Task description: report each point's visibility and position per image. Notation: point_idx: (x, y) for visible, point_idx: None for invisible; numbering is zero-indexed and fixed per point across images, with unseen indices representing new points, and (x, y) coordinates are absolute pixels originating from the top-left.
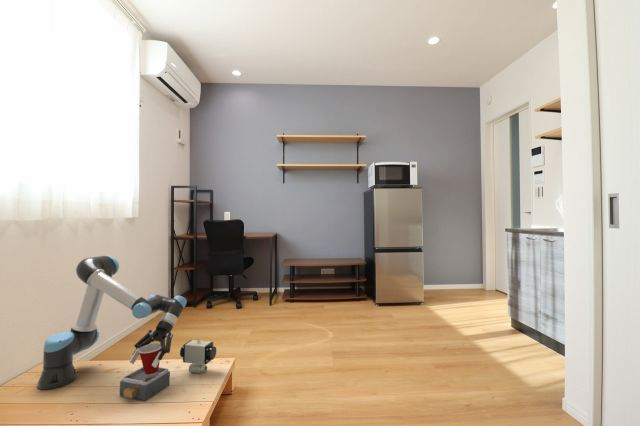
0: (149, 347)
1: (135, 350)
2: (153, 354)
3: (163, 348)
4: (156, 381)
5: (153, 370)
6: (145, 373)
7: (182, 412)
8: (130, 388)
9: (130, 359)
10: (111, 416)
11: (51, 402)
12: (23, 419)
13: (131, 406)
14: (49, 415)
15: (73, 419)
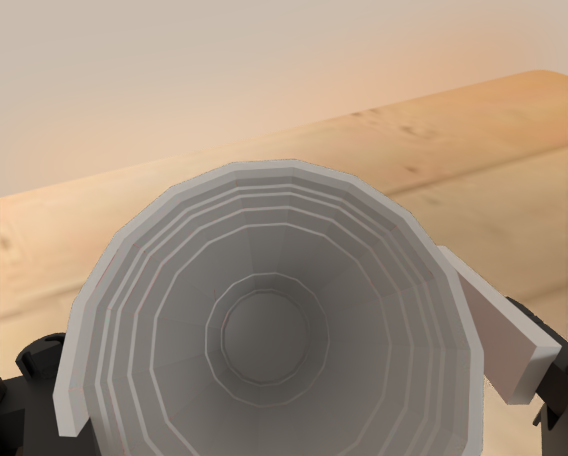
0: (404, 445)
1: (553, 338)
2: (163, 263)
3: (25, 404)
4: None
5: (224, 306)
6: (285, 294)
7: (31, 231)
8: None
9: (451, 254)
10: (271, 150)
11: (554, 152)
12: (504, 80)
13: None
14: (462, 107)
15: (370, 113)
